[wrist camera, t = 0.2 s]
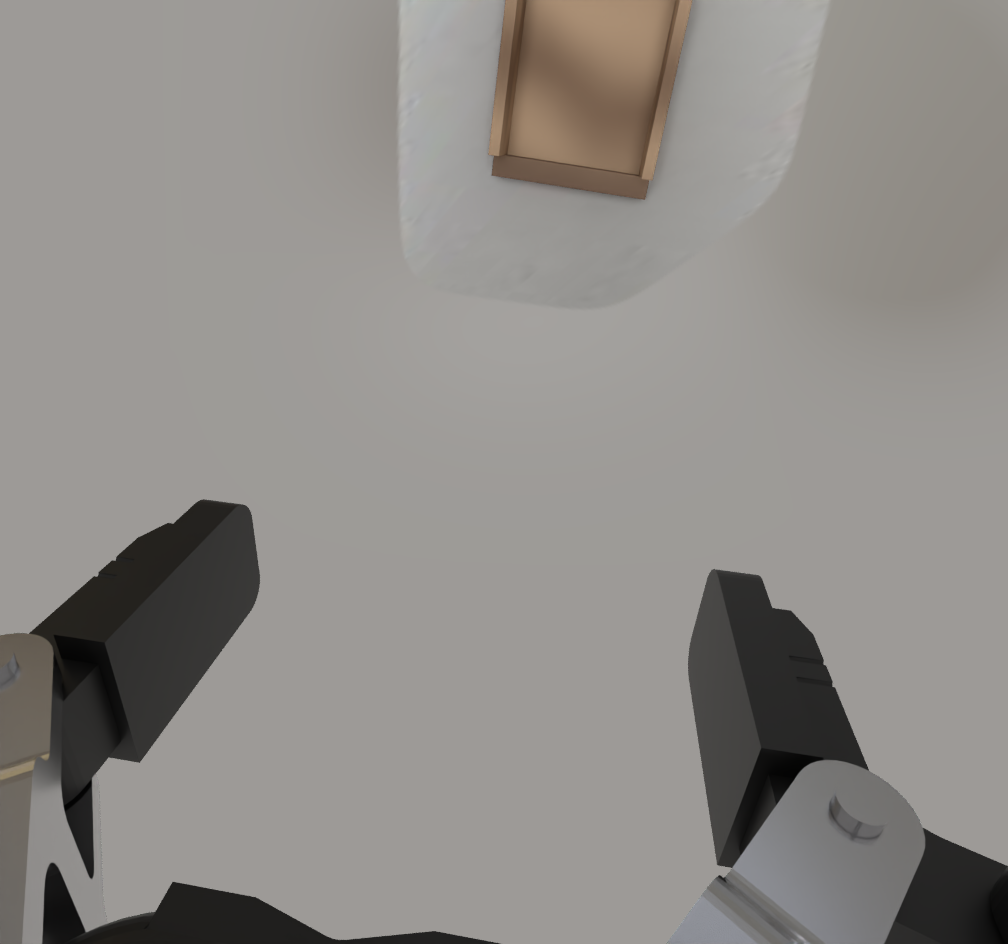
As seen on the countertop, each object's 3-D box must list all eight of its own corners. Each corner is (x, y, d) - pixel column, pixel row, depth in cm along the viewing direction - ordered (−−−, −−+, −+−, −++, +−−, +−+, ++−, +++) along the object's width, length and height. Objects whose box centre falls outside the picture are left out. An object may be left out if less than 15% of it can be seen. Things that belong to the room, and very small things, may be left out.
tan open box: (521, -38, 30) (512, -57, 27) (689, -15, 30) (699, -31, 27) (496, 173, 35) (485, 177, 31) (643, 196, 34) (647, 203, 31)
